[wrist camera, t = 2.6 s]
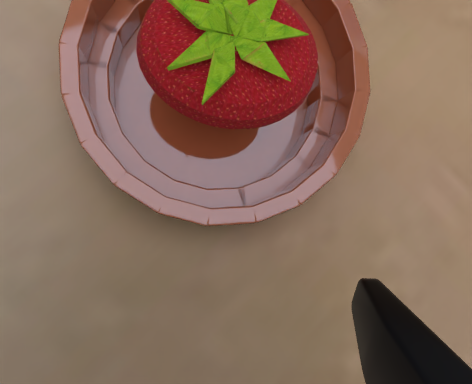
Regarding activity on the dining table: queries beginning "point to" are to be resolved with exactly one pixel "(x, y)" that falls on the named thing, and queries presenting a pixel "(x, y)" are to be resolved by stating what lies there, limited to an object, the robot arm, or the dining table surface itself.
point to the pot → (205, 136)
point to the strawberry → (228, 59)
